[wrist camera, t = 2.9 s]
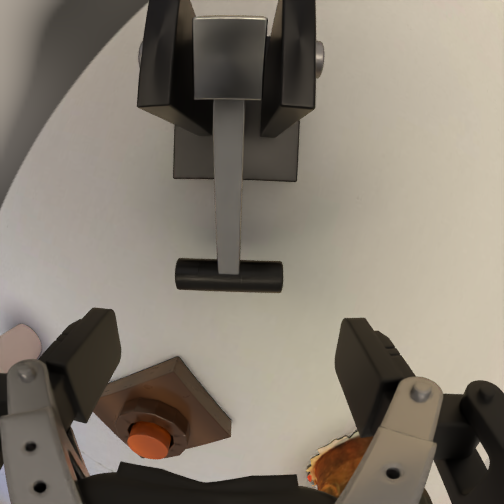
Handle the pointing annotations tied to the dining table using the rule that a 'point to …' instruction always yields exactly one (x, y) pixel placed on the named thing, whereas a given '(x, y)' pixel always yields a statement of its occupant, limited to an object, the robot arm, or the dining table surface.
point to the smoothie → (18, 346)
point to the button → (149, 440)
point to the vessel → (342, 465)
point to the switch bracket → (256, 111)
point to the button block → (164, 406)
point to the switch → (228, 147)
